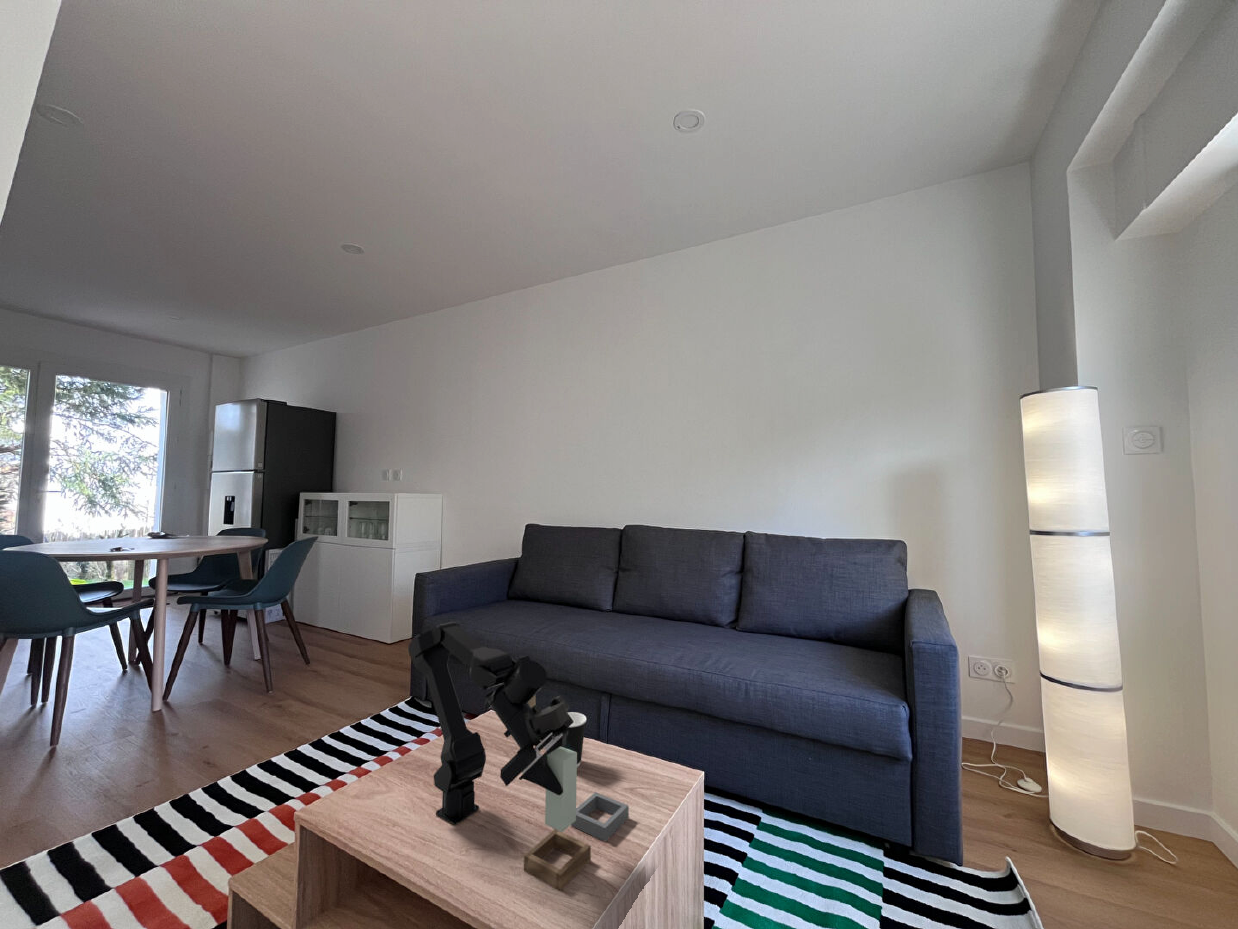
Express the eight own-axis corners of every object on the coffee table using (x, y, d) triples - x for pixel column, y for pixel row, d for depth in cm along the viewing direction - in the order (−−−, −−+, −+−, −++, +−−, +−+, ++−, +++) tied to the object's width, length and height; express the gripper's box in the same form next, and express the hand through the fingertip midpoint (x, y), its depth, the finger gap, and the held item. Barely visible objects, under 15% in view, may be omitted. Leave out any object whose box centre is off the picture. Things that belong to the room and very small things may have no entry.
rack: (523, 870, 87) (524, 855, 87) (555, 842, 94) (555, 829, 94) (560, 891, 82) (560, 875, 82) (590, 860, 89) (590, 846, 89)
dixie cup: (556, 775, 117) (557, 727, 118) (552, 758, 125) (553, 714, 126) (589, 770, 119) (589, 723, 120) (582, 754, 127) (583, 710, 128)
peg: (544, 824, 88) (546, 755, 89) (558, 813, 92) (560, 746, 93) (562, 832, 86) (563, 761, 87) (575, 820, 90) (577, 752, 91)
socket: (570, 825, 99) (571, 813, 99) (595, 804, 106) (595, 792, 106) (605, 841, 94) (605, 828, 94) (628, 818, 101) (628, 805, 101)
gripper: (516, 707, 84) (574, 787, 79) (565, 672, 101) (615, 736, 96) (477, 747, 86) (530, 827, 81) (531, 705, 103) (578, 770, 98)
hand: (567, 786), depth 89 cm, fingers closed on peg, 5 cm apart
